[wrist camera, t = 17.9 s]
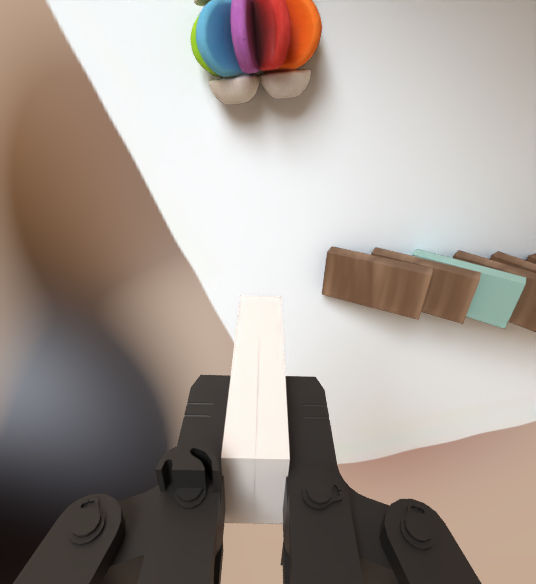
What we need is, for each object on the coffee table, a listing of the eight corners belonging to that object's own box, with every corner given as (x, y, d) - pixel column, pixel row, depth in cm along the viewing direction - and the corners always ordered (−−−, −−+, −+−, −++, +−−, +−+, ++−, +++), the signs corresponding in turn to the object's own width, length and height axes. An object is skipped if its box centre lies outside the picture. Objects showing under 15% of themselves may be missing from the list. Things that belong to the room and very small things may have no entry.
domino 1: (321, 294, 40) (418, 319, 37) (327, 252, 38) (431, 275, 34) (326, 287, 42) (420, 311, 38) (331, 246, 39) (433, 268, 35)
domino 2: (363, 294, 40) (462, 323, 36) (371, 252, 38) (480, 279, 34) (367, 288, 42) (464, 315, 38) (375, 247, 39) (480, 272, 35)
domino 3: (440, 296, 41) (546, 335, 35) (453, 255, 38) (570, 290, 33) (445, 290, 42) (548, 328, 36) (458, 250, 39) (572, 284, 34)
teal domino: (401, 295, 41) (504, 329, 36) (412, 254, 38) (525, 284, 33) (405, 289, 42) (506, 321, 37) (416, 249, 39) (526, 277, 35)
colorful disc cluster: (318, 92, 32) (331, 99, 25) (206, 104, 32) (191, 114, 26) (315, -39, 27) (330, -69, 21) (185, -23, 28) (161, -47, 21)
